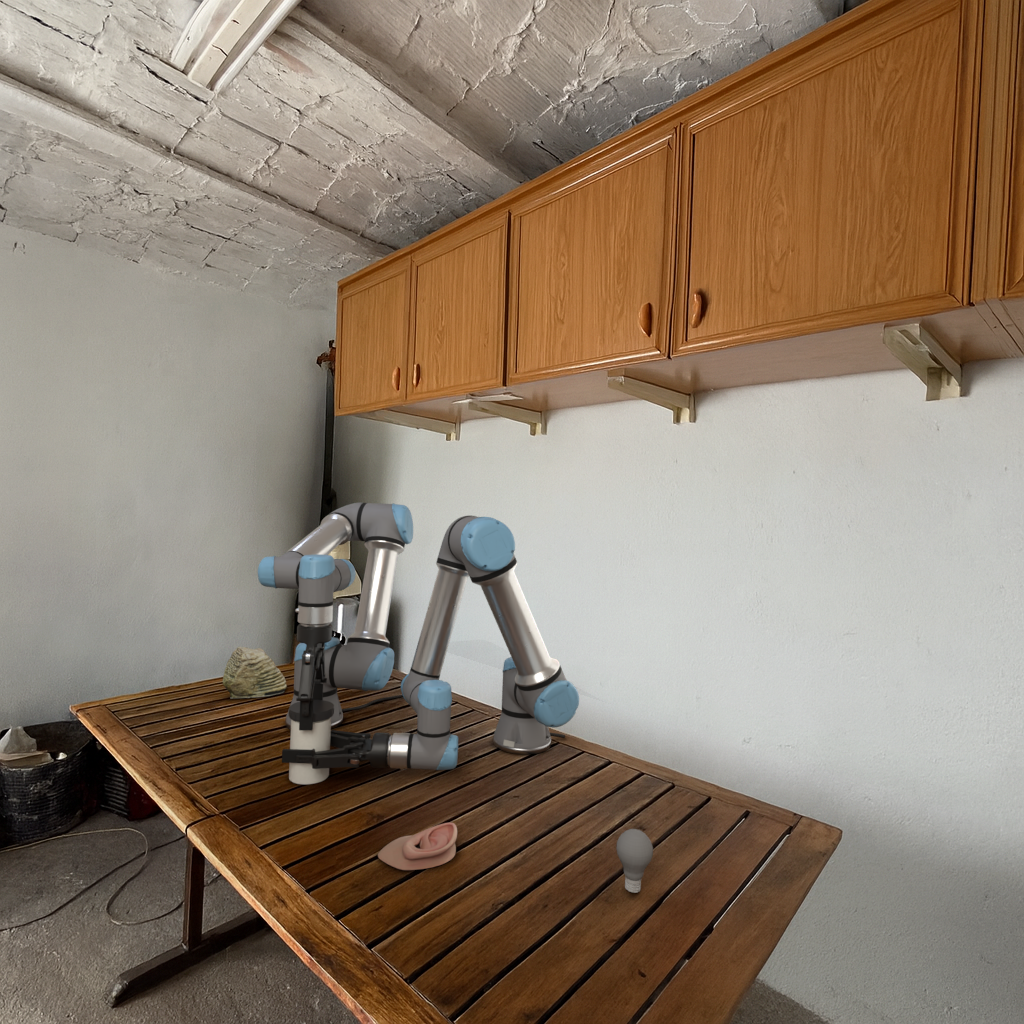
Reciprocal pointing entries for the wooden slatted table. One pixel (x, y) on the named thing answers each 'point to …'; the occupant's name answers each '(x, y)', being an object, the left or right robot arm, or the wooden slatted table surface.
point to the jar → (308, 741)
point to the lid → (320, 710)
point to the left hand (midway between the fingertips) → (311, 720)
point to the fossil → (252, 674)
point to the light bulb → (634, 857)
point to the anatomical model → (422, 848)
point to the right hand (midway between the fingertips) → (289, 747)
